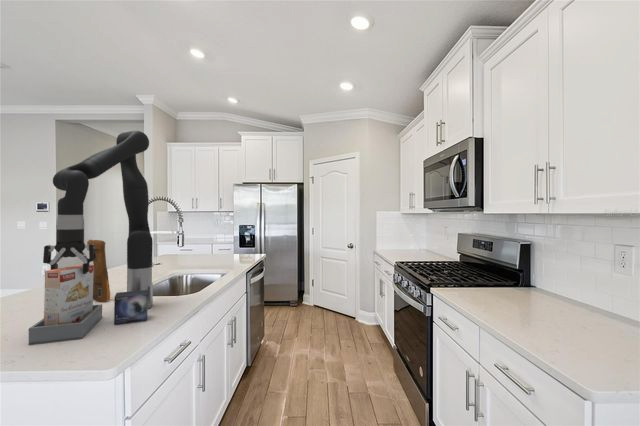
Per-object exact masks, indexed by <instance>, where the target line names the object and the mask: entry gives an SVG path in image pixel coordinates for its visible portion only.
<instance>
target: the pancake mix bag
mask: <svg viewBox="0 0 640 426" xmlns="http://www.w3.org/2000/svg"><path fill="white" fill-rule="evenodd" d="M86 243H87V244H86V245H91V244H95V253H96V260H94V261H92V265H94V275H93V300H95V301H96V302H98V303H107V302H109V301H110V300H111V290H110V289H111V288H110V280H109V273H108V266H107V258H106V242H105V240H99V239H88V241H86Z"/></svg>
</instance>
